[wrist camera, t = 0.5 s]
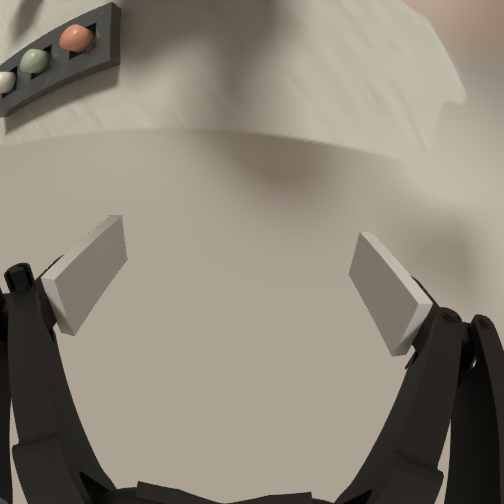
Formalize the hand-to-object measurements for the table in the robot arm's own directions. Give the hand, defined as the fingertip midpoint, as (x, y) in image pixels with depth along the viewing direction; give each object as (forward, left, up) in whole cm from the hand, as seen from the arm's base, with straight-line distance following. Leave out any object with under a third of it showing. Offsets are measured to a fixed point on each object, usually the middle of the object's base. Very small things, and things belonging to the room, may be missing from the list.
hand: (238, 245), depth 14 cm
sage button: (-25, -32, -23) cm, 46 cm away
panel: (-25, -32, -26) cm, 48 cm away
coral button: (-25, -23, -23) cm, 40 cm away
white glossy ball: (-25, -41, -23) cm, 53 cm away
